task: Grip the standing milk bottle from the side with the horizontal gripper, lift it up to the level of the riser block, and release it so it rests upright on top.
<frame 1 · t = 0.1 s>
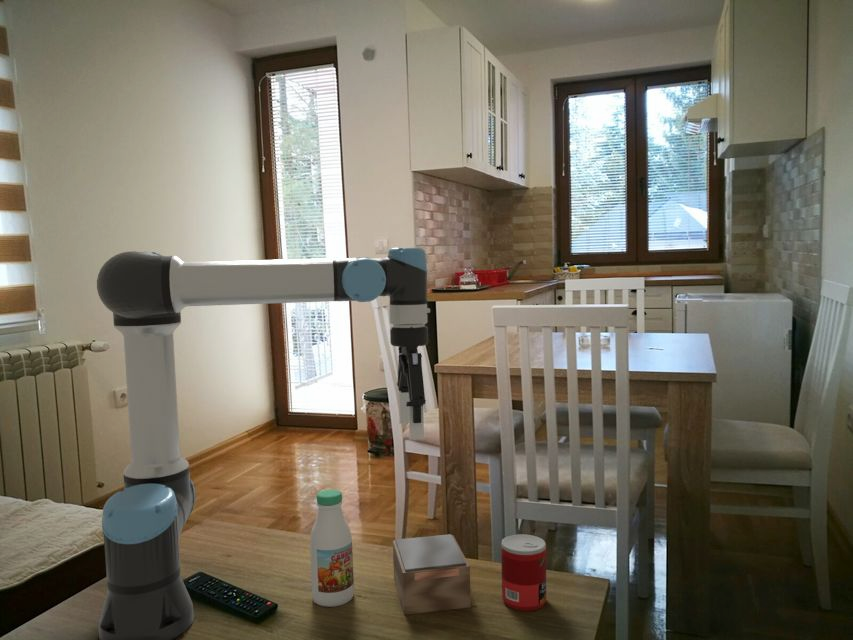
hand: (411, 430, 135), 28 cm above the table, fingers open, 13 cm apart
canned food: (524, 602, 122), on the table
riser: (430, 591, 126), on the table
milk bottle: (333, 598, 124), on the table
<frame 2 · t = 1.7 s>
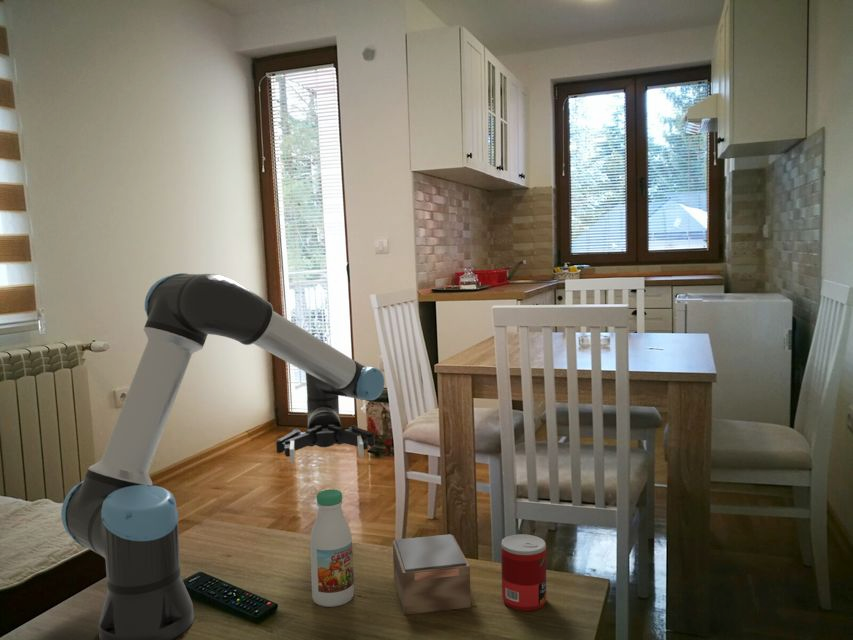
hand: (327, 453, 132), 25 cm above the table, fingers open, 13 cm apart
nothing on the table moved.
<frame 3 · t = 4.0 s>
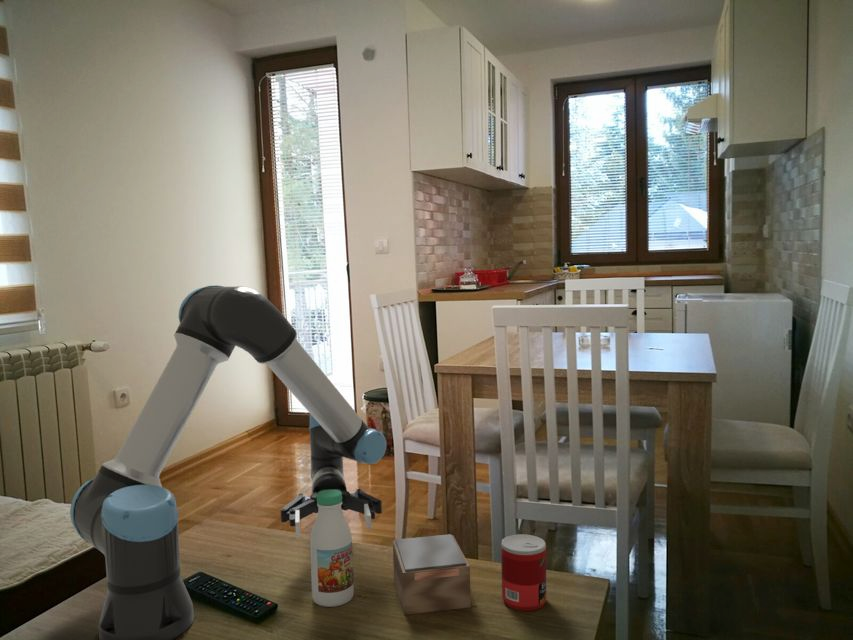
hand: (333, 525, 128), 12 cm above the table, fingers open, 13 cm apart
nothing on the table moved.
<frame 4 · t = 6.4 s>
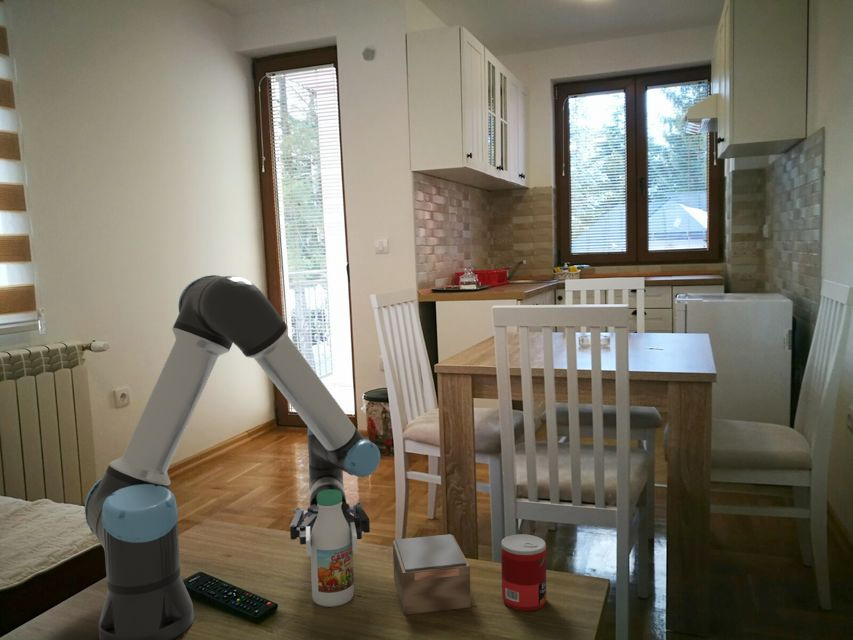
hand: (331, 545, 119), 12 cm above the table, fingers closed on milk bottle, 7 cm apart
milk bottle: (333, 598, 124), on the table, touching gripper
everything else where it was.
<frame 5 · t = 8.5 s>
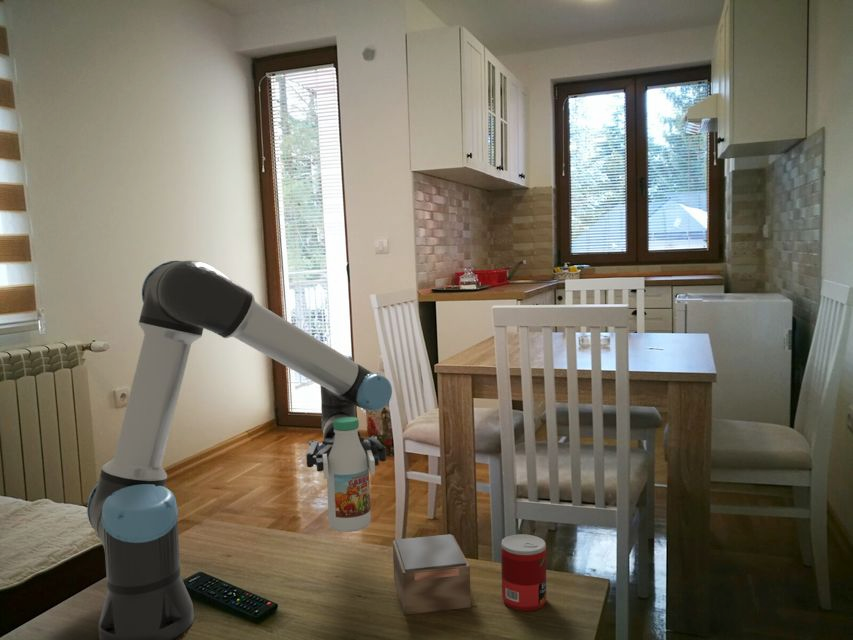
hand: (349, 469, 118), 25 cm above the table, fingers closed on milk bottle, 7 cm apart
milk bottle: (350, 525, 124), point 13 cm above the table, touching gripper
everything else where it was.
when the fingers open (21 cm above the table, at t = 10.5 s): milk bottle drops 1 cm, resting on riser.
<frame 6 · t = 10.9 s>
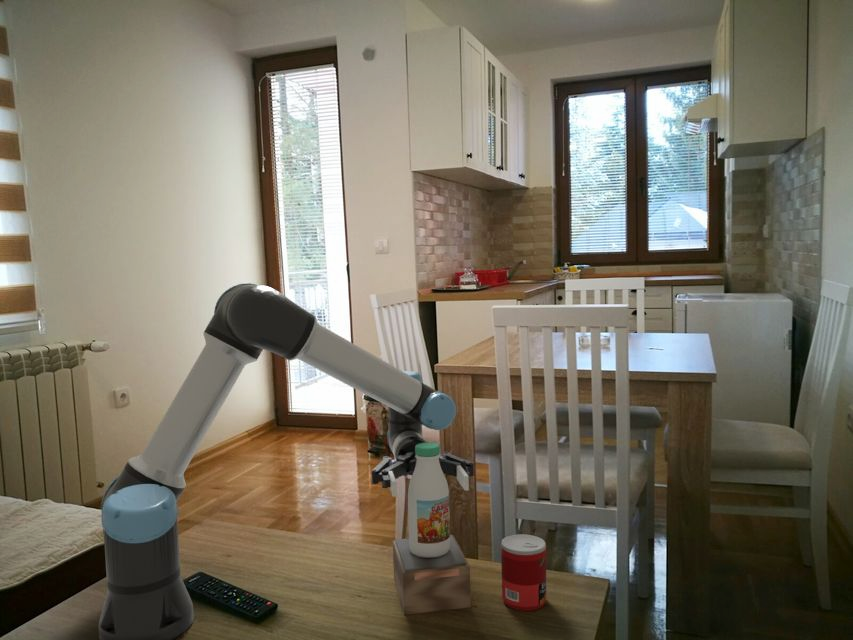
hand: (431, 486, 120), 21 cm above the table, fingers open, 12 cm apart
milk bottle: (429, 551, 125), point 8 cm above the table, touching riser
everything else where it was.
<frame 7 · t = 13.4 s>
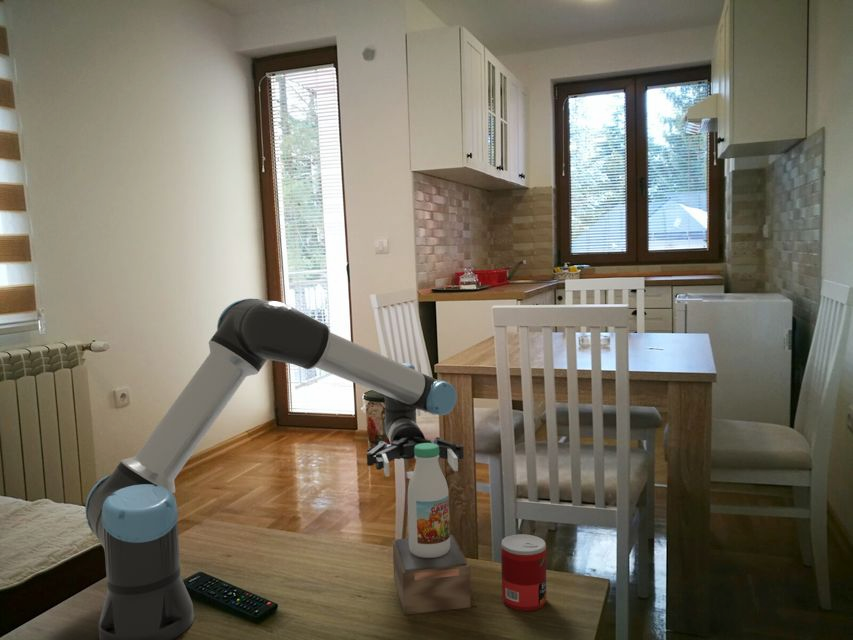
hand: (421, 467, 131), 22 cm above the table, fingers open, 13 cm apart
nothing on the table moved.
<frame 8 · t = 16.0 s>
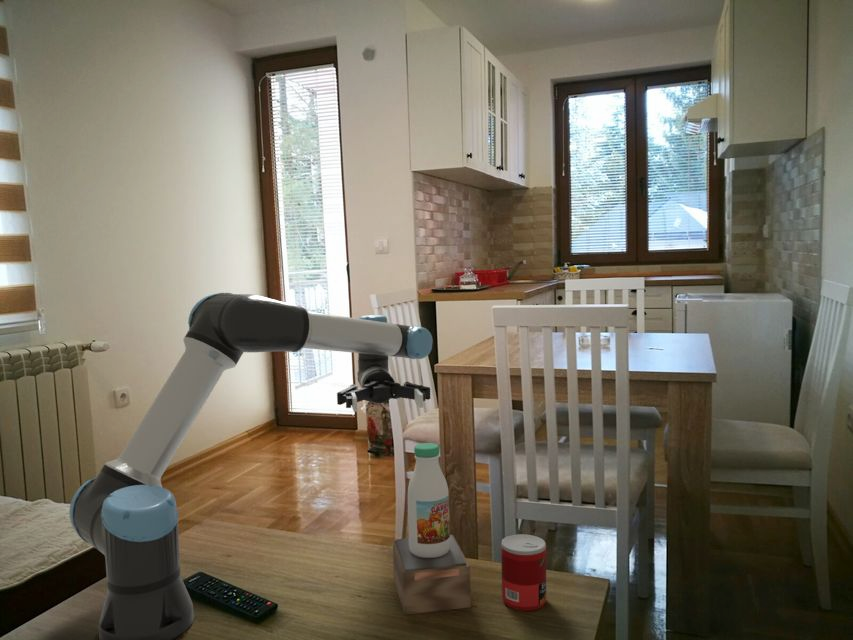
hand: (388, 403, 137), 33 cm above the table, fingers open, 13 cm apart
nothing on the table moved.
at the end: milk bottle inside the target area on the riser (0.1 cm from its centre), point 7.8 cm above the riser's base; milk bottle tilted 0°; the gripper is holding nothing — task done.
